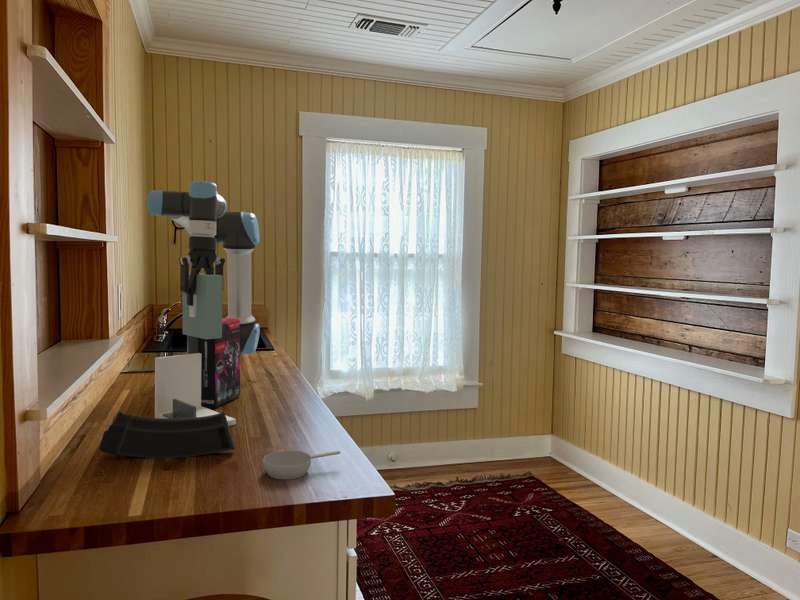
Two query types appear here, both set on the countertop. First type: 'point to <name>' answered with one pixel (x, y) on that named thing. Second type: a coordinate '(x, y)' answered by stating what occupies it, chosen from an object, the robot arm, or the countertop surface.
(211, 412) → the white panel stand
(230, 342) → the graphics card box
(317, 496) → the countertop surface
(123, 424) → the magazine
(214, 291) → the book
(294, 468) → the saucepan
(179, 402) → the grey block bar
